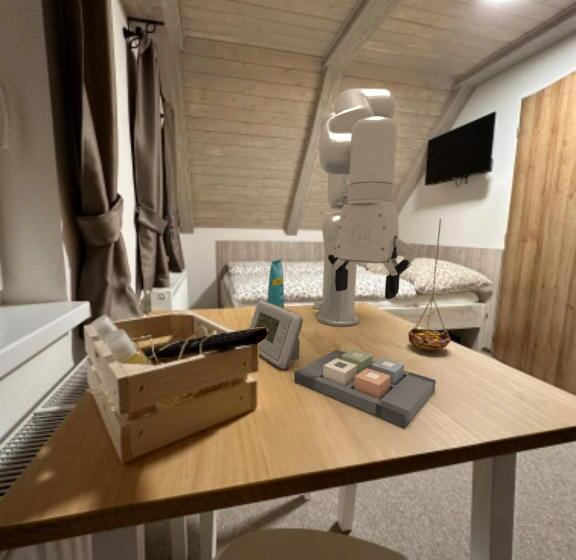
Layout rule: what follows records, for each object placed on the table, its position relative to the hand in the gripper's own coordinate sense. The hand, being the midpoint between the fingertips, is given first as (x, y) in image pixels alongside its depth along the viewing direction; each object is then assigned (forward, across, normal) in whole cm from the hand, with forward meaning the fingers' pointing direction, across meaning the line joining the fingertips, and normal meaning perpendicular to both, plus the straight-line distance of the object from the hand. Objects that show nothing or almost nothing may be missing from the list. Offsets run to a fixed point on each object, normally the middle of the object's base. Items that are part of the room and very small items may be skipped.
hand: (364, 294), depth 58 cm
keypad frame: (+16, +2, -3) cm, 16 cm away
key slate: (+14, +5, 0) cm, 15 cm away
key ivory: (+14, -1, -6) cm, 16 cm away
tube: (+15, -29, +8) cm, 34 cm away
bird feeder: (+16, +5, +23) cm, 28 cm away
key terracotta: (+14, +5, -6) cm, 16 cm away
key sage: (+14, -1, 0) cm, 14 cm away
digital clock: (+16, -19, -4) cm, 25 cm away
